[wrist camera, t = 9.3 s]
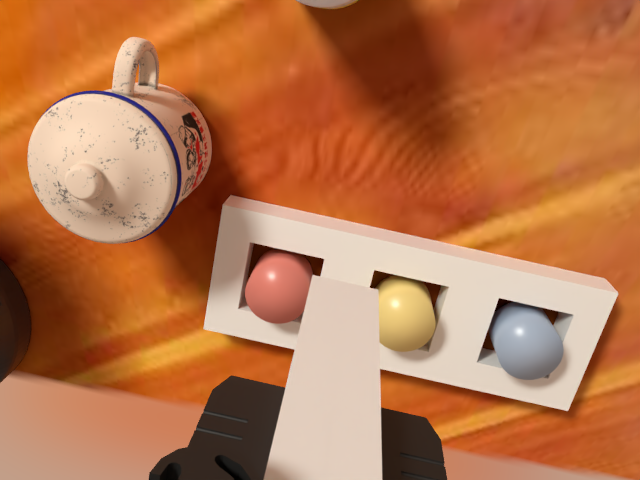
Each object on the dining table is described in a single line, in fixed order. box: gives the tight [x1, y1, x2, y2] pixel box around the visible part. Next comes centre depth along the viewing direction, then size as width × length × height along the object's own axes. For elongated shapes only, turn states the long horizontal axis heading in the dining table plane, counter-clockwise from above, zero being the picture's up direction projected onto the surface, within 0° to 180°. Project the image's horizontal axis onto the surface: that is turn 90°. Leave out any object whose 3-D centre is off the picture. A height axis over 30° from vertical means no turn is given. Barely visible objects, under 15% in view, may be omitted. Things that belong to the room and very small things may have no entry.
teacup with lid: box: [28, 37, 212, 244], centre depth 37 cm, size 12×9×12 cm
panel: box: [204, 195, 618, 411], centre depth 44 cm, size 28×10×2 cm, turn 78°
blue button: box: [489, 302, 564, 380], centre depth 43 cm, size 4×4×4 cm
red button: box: [245, 248, 313, 324], centre depth 43 cm, size 4×4×4 cm
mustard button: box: [375, 275, 436, 352], centre depth 43 cm, size 4×4×4 cm
